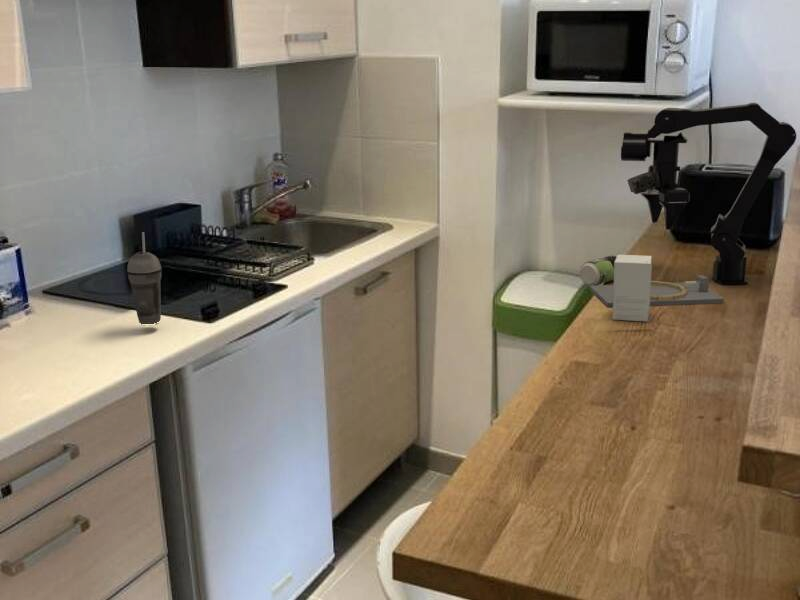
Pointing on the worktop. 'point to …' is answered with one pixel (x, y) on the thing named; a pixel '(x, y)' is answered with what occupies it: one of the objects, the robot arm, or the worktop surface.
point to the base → (691, 298)
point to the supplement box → (632, 287)
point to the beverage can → (598, 271)
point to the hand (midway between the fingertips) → (661, 225)
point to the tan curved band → (682, 288)
